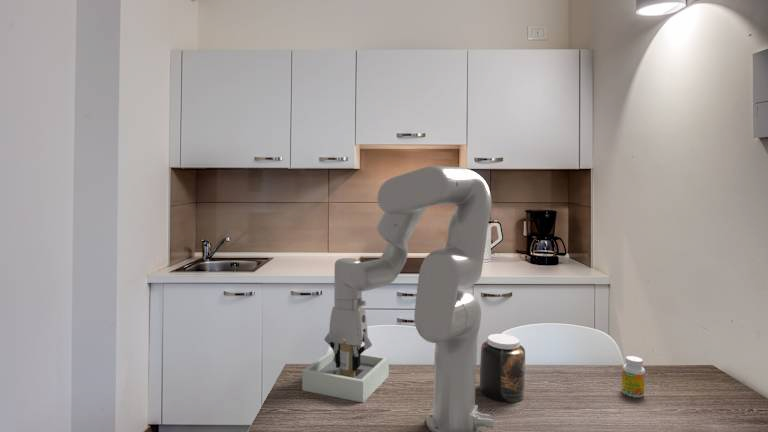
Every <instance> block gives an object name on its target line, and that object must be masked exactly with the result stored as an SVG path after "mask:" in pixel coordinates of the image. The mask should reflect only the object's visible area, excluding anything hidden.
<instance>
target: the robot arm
mask: <svg viewBox="0 0 768 432" xmlns="http://www.w3.org/2000/svg"><path fill="white" fill-rule="evenodd" d="M376 198H377V204H378V206H379V209H380V210H381V211H382V212H383V213H384V214H383V215H382V217H381V218H380V221H379V222H378V223H377V228H376V229H377V230H376V231H377V233H378V234H379V235H380V237H381V239H383V240H384V241H386V242H387V245H386V247H385V250H384V251H383V253H382V254H381V256H380V258H378V259H372V260H366V261H362V262H361V260H360V259H358V258H355V257H354V258H353V257H345V258H344V257H343V258H338V259H337V260H335V262H334V287H333V288H334V296H333V297H334V299H333V300H334V306H332V309H331V313H330V318H329V331H328V333H327V334H326V336H325V337H324V341H325V342H326V343H327V344H328V345H329V347H330V348H331V350H333V352H334V353H335V363H336V368H339V367H340V344H343V343H344V342H343V341H344V340H342V339H344V338H345V339H346V341H345V343H346V344H348V345H352V346H353V351H354V356H353V357H352V370H353V371H355V370H356V369H358V368H359V366H360V354H361V353H364V352H365V351H367V350H369V348H371V347H372V346H373V343H372V342H371V340H370V338H369V337H368V336H369V335H368V332H369V331H368V321H367V315H366V309H365V306H367V302H366V300H364V299H363V297H362V292H367V291H371V290H374V289H378V288H383V287H386V286H389V285H391V284H392V283H393V282H394V281H395V280H396V279H397V278H398V276H399V274H400V273H401V271H402V269H403V268H404V266H405V264H406V263H407V258H408V250H409V248H408V247H409V246H408V241H409V239H410V237H411V235H412V234H413V231H414V230H415V229H416V228H417V225H418V224H419V222H420V220H421V219H422V217H423V215H424V214H425V212H426V210H427V209H428V207H433V206H444V205H454V206H455V210H454V212H453V215H452V217H451V219H450V222H449V225H448V229H447V230H448V233H447V238H446V245H445V247H444V248H439V249H436V250H433V251H431V252H430V253H428V254H427V255H426V256H425V258H424V260H423V261H422V263H421V265H420V268H419V273H418V278H417V280H418V281H417V288H416V294H415V295H416V297H415V305H414V312H413V313H414V316H413V317H414V325H415V328H416V331H417V333H418V335H419V336H420V337H421V338H422V339H423V340H425V341H426V342H428V343H432V344H435V348H434V363H433V364H434V367H433V369H434V370H433V406H432V407H433V410H432V411H431V412H429V413H428V415H427V416H426V421H425V423H426V426H427V428H428V429H429V431H431V432H481V430H482V427H485V428H489V429H494V425H495V420H494V419H493V418H491V414H488V413H481V412H480V411H479V405H478V404H476V384H477V383H476V380H477V377H476V375H477V353H478V350H477V349H478V340H479V333H480V328H481V323H482V308H481V305H480V302H479V300H478V299H477V297H475V295H474V294H472V293H470V292H469V291H465V290H464V289H466V288H469V287H472V286H474V285H475V284H477V283H478V281H479V280H480V279H481V276H482V271H483V265H484V258H485V251H486V250H485V249H486V244H487V234H488V227H489V221H490V217H491V211H492V210H491V209H492V195H491V191H490V188H489V185H488V184H487V182H486V180H485V179H484V178H483V177H482V176H481V175H480V174H478V173H477V172H475V171H474V170H471V169H469V168H465V167H461V166H445V165H444V166H442V165H431V166H424V167H421V168H418V169H414V170H412V171H408V172H405V173H403V174H399V175H396V176H393V177H390V178H388V179H386V180H385V181H384V182H383V183H382V184H381V186H380V188H379V190H378V191H377V197H376ZM363 343H364V345H362V344H363Z"/></svg>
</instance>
